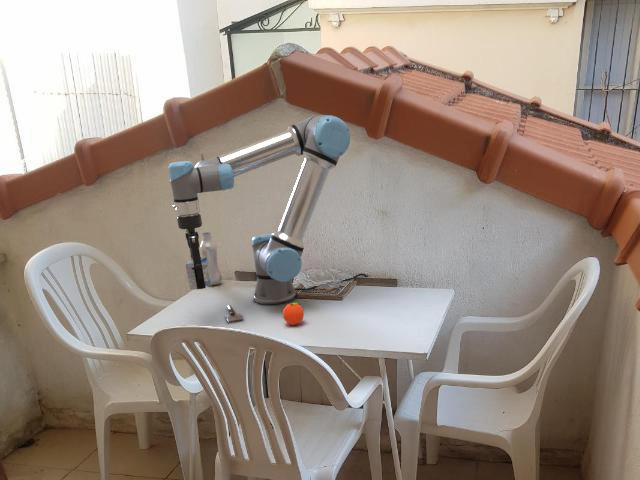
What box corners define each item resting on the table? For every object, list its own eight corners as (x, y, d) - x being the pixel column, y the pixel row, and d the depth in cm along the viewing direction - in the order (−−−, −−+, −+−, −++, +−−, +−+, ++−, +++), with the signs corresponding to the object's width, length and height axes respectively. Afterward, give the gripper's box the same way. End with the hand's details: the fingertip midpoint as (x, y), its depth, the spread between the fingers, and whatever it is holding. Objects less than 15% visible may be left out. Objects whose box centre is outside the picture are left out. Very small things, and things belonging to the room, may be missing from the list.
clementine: (293, 318, 233) (291, 298, 229) (310, 320, 230) (308, 300, 226) (279, 326, 227) (277, 305, 224) (297, 328, 224) (295, 307, 220)
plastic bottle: (204, 287, 275) (195, 235, 265) (209, 282, 281) (201, 231, 271) (219, 286, 274) (211, 235, 264) (224, 281, 279) (216, 231, 270)
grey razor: (222, 309, 248) (222, 305, 247) (236, 307, 249) (235, 303, 248) (228, 323, 234) (227, 318, 233) (242, 320, 235) (241, 316, 234)
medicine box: (202, 289, 226) (197, 263, 222) (189, 289, 227) (184, 263, 223) (211, 282, 233) (206, 256, 228) (198, 282, 234) (194, 256, 229)
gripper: (174, 210, 227) (186, 278, 238) (178, 222, 209) (191, 295, 220) (197, 207, 228) (208, 275, 240) (203, 219, 210) (214, 291, 221)
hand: (200, 284), depth 230 cm, fingers closed on medicine box, 9 cm apart
